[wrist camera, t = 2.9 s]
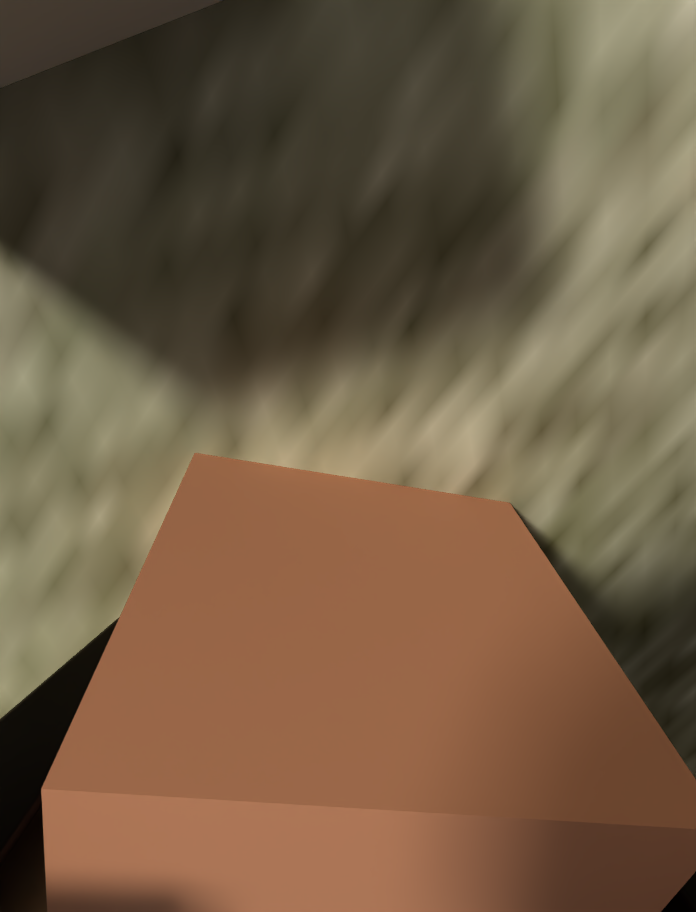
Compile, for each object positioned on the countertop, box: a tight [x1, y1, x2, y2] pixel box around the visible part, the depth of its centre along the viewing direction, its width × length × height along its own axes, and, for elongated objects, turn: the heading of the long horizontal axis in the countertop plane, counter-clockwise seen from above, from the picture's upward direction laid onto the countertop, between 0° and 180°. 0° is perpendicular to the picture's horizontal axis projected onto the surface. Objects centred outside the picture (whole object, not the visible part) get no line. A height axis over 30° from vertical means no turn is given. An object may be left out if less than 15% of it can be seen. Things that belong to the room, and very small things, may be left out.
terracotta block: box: [41, 453, 696, 912], centre depth 8 cm, size 6×6×6 cm
